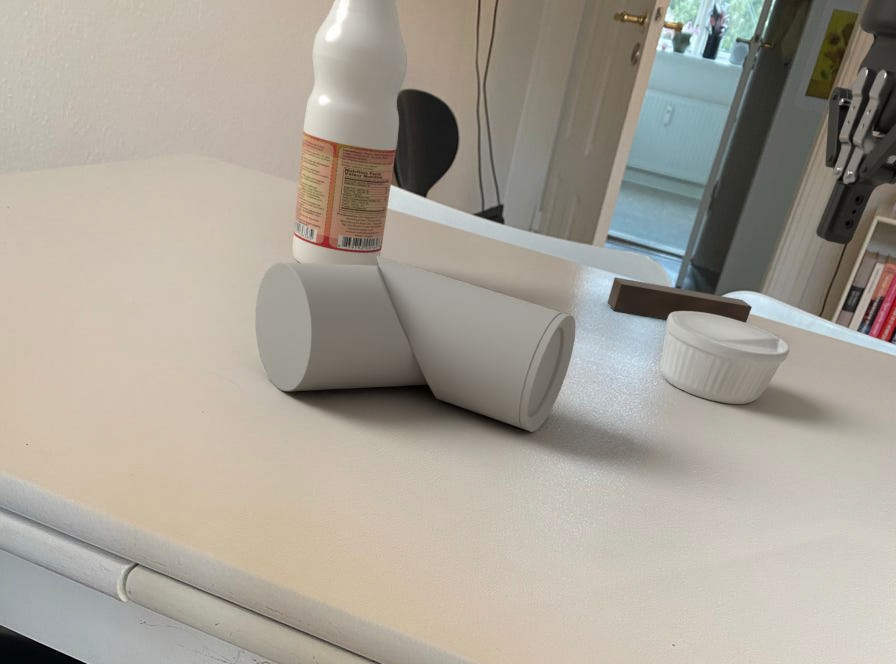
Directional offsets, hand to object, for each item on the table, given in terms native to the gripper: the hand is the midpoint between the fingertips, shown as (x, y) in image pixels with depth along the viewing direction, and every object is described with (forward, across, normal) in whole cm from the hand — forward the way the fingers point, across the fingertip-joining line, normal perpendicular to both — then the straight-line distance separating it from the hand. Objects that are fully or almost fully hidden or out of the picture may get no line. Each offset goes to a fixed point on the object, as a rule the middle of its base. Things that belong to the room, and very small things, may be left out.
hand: (831, 240), depth 67 cm
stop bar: (+15, +36, -5) cm, 39 cm away
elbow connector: (+16, -4, +29) cm, 33 cm away
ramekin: (+16, +11, 0) cm, 19 cm away
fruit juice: (+16, +34, +35) cm, 51 cm away
